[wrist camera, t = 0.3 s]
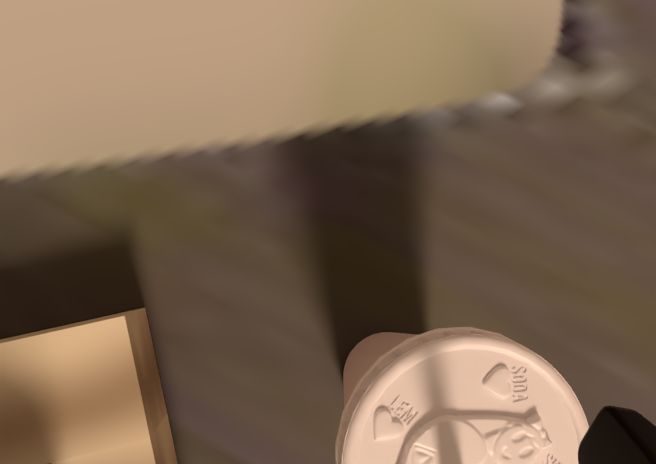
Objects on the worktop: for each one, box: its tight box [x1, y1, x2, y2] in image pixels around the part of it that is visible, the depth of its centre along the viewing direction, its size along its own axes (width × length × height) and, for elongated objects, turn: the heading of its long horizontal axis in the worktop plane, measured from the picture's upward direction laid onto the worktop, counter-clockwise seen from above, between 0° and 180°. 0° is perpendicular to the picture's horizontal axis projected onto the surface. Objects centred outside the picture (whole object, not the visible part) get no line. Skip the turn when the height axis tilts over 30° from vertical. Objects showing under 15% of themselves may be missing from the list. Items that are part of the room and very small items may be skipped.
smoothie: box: [335, 327, 589, 464], centre depth 15 cm, size 6×6×14 cm
